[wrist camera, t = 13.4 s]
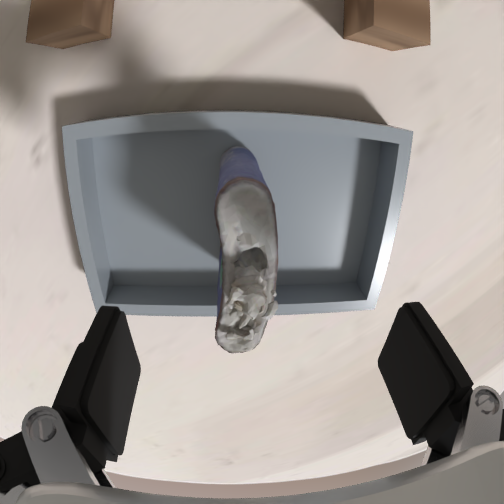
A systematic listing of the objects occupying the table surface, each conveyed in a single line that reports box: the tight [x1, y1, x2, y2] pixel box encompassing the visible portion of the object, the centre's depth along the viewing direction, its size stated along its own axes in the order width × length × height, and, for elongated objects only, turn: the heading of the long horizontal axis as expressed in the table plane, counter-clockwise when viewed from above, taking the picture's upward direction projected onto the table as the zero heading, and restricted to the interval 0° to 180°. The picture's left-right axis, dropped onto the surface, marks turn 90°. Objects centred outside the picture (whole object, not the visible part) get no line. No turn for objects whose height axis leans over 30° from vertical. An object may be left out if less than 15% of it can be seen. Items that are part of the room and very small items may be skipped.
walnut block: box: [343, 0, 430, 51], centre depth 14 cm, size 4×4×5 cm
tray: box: [62, 110, 413, 316], centre depth 21 cm, size 14×22×4 cm, turn 88°
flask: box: [214, 146, 278, 353], centre depth 16 cm, size 9×3×11 cm, turn 177°
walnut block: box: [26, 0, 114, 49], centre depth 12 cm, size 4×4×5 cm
